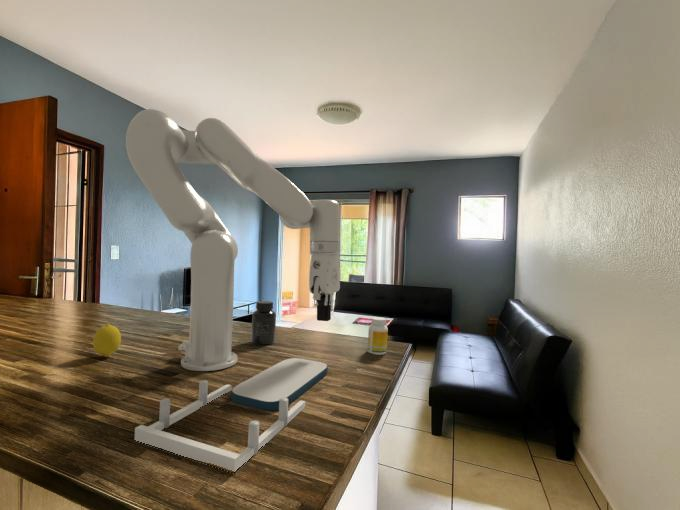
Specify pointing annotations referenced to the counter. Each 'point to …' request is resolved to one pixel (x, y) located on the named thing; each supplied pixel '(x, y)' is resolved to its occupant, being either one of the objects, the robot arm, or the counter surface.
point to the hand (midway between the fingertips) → (323, 320)
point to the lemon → (106, 340)
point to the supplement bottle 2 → (377, 336)
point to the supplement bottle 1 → (263, 324)
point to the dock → (204, 451)
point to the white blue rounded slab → (279, 383)
